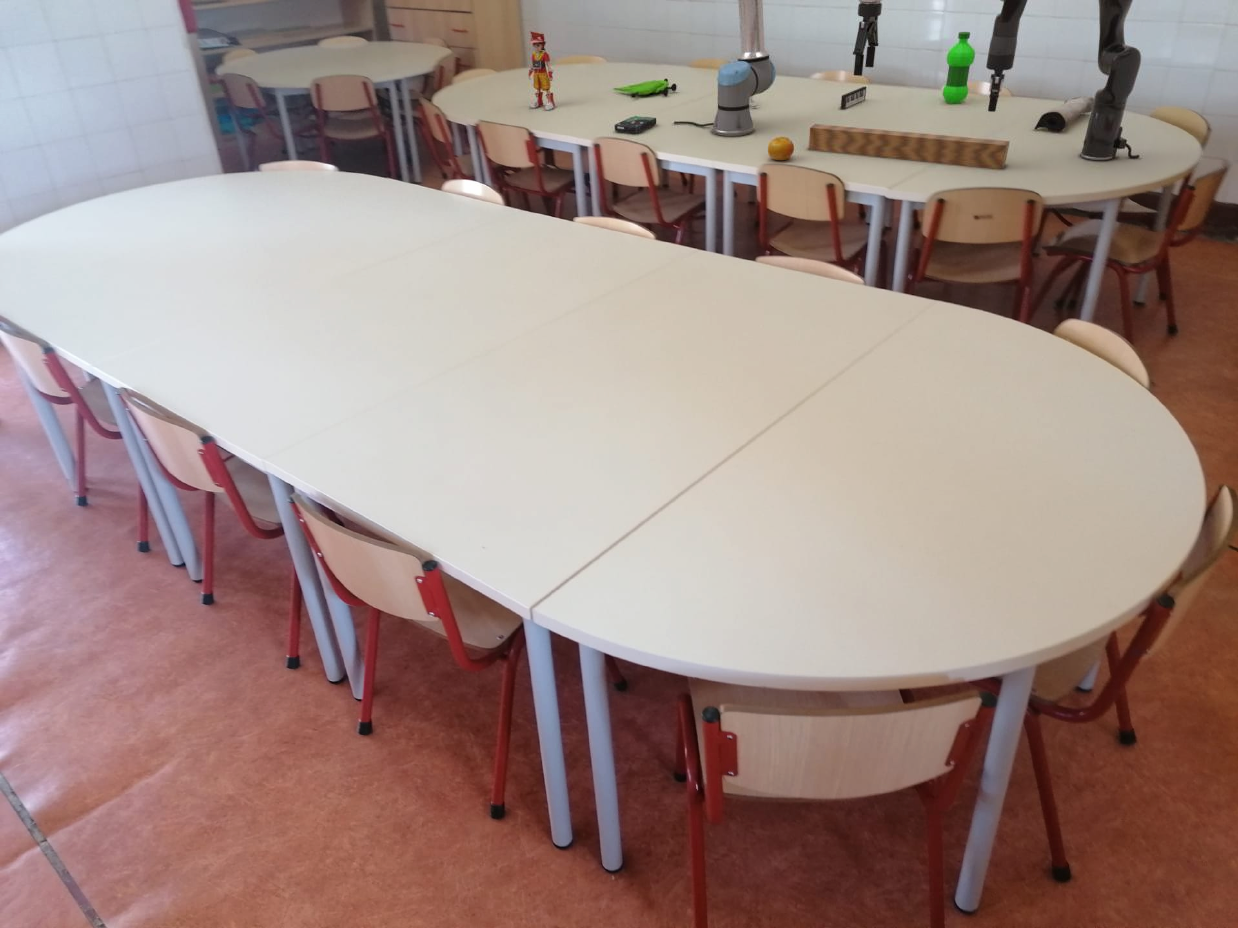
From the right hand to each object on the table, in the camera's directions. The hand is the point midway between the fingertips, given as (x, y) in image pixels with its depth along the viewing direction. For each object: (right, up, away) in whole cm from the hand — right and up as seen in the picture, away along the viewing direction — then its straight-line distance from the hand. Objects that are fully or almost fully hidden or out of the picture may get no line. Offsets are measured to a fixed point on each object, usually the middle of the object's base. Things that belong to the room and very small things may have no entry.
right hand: (992, 108), depth 277 cm
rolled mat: (+45, +13, +46) cm, 66 cm away
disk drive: (-109, +20, +69) cm, 131 cm away
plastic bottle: (+17, +33, +77) cm, 86 cm away
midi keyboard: (-22, +34, +83) cm, 92 cm away
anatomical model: (-65, +37, +91) cm, 118 cm away
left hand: (-32, +25, +30) cm, 50 cm away
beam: (-21, -7, +23) cm, 31 cm away
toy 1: (-149, +42, +106) cm, 187 cm away
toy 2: (-106, +55, +120) cm, 169 cm away
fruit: (-61, -7, +27) cm, 67 cm away
